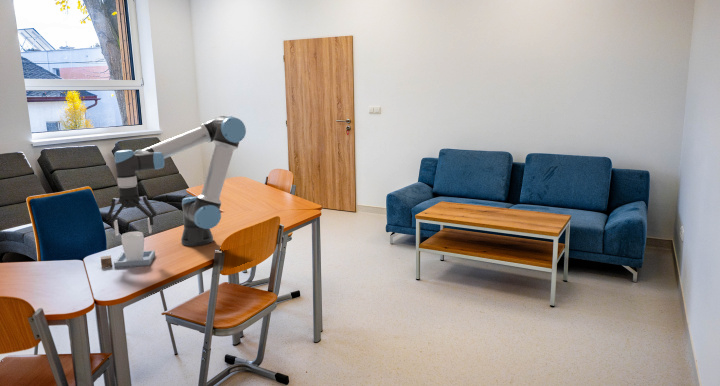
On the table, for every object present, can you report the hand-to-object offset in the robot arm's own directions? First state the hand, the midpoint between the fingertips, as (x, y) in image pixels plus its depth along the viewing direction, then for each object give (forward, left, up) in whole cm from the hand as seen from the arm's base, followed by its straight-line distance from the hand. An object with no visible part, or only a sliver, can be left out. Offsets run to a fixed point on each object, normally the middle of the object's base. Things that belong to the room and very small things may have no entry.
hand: (134, 233), depth 218 cm
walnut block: (+11, +3, -13) cm, 18 cm away
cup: (+1, 0, -12) cm, 12 cm away
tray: (0, 0, -13) cm, 13 cm away
